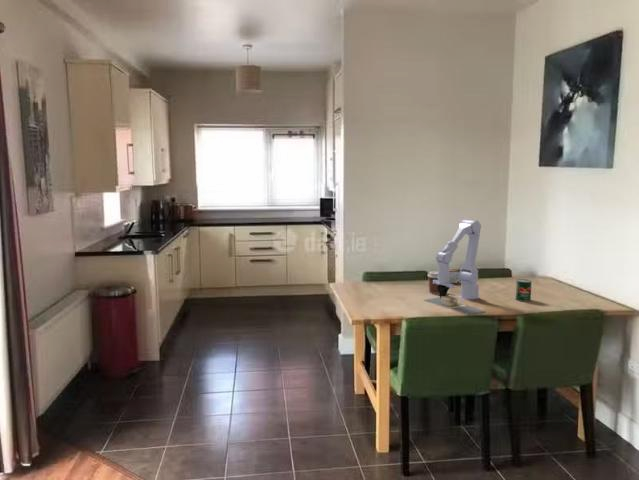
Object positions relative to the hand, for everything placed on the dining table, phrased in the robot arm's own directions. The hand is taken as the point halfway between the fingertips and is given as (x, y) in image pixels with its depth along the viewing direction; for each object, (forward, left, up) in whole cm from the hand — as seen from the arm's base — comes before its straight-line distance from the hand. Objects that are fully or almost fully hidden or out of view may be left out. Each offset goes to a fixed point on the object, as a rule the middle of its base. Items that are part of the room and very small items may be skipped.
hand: (442, 298), depth 290 cm
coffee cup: (-14, -21, -2) cm, 25 cm away
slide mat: (0, +8, -2) cm, 8 cm away
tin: (-40, -36, -3) cm, 54 cm away
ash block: (0, +5, -2) cm, 5 cm away
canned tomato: (-44, +17, -2) cm, 47 cm away
